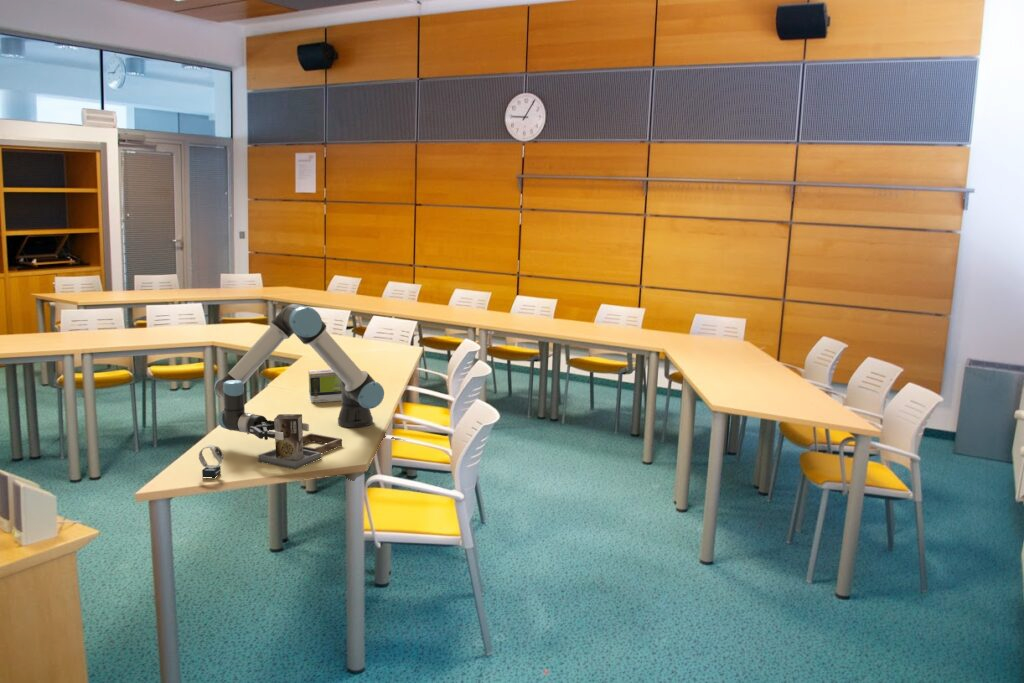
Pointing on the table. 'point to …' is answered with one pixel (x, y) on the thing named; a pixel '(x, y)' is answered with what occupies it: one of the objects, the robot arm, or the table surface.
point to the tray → (294, 464)
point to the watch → (211, 469)
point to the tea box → (324, 386)
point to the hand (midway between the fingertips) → (295, 431)
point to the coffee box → (289, 436)
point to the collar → (330, 442)
